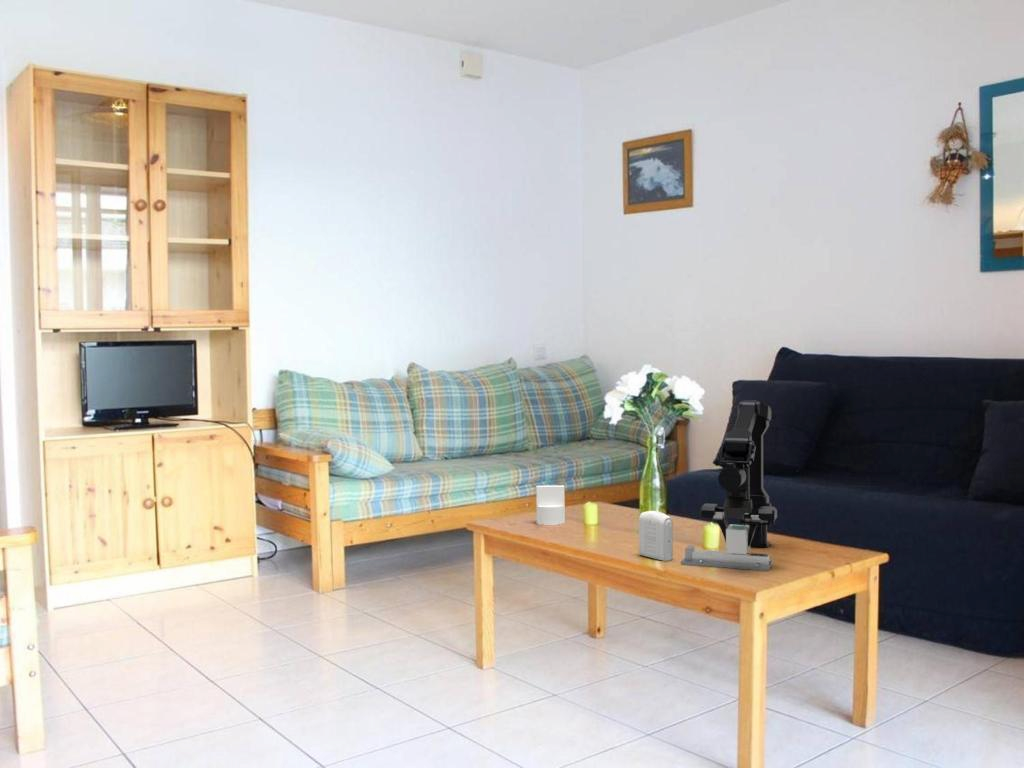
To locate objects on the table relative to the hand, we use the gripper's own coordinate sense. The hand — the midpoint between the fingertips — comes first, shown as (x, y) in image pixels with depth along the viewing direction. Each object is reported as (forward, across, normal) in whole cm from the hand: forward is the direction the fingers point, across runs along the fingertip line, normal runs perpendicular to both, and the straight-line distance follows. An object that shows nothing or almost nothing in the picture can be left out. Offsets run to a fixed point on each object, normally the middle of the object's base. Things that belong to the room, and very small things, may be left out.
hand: (738, 545), depth 248 cm
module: (+1, 0, 0) cm, 1 cm away
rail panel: (+5, -3, 0) cm, 6 cm away
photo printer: (+5, -22, +2) cm, 23 cm away
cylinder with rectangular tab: (+5, -65, +39) cm, 76 cm away
